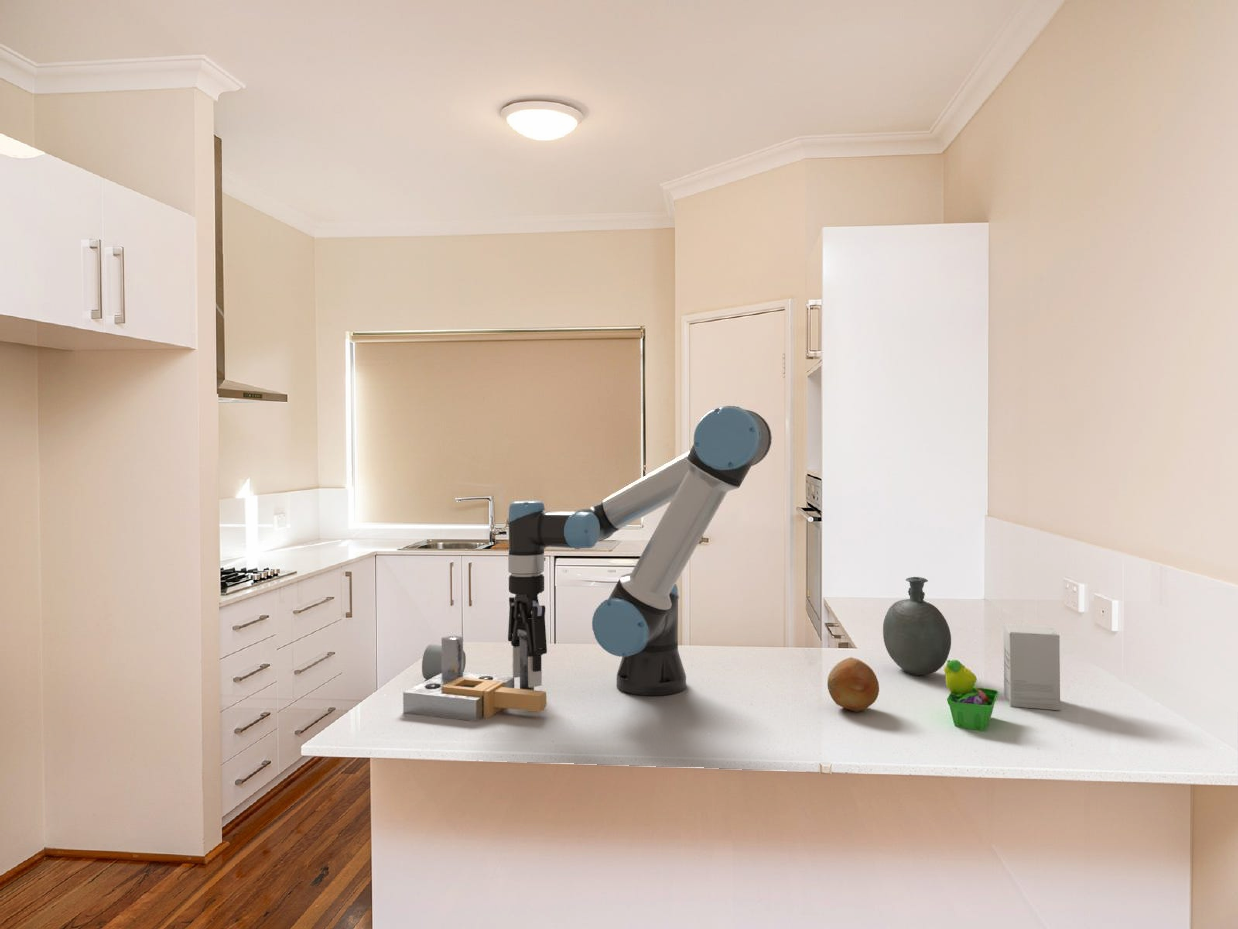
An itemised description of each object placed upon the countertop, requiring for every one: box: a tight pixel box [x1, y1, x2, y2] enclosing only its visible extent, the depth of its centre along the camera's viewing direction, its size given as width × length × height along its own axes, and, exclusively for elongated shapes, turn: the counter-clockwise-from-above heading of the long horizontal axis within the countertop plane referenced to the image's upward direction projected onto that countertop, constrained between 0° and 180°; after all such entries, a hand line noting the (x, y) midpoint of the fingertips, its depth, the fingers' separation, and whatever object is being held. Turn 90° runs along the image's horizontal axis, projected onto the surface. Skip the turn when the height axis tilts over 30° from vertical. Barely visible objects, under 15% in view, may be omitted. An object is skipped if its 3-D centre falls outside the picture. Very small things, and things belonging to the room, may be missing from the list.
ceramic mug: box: [421, 643, 467, 680], centre depth 175 cm, size 11×8×8 cm
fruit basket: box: [943, 659, 999, 732], centre depth 145 cm, size 11×9×11 cm
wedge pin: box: [518, 627, 535, 690], centre depth 164 cm, size 4×4×13 cm
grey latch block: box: [402, 635, 515, 722], centre depth 156 cm, size 16×16×12 cm
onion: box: [827, 657, 880, 713], centre depth 152 cm, size 10×10×10 cm
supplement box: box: [1003, 623, 1061, 711], centre depth 156 cm, size 9×9×15 cm
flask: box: [882, 576, 952, 676], centre depth 177 cm, size 12×17×22 cm
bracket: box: [442, 677, 547, 718], centre depth 151 cm, size 20×7×5 cm, turn 71°
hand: (526, 681), depth 164 cm, fingers open, 8 cm apart
